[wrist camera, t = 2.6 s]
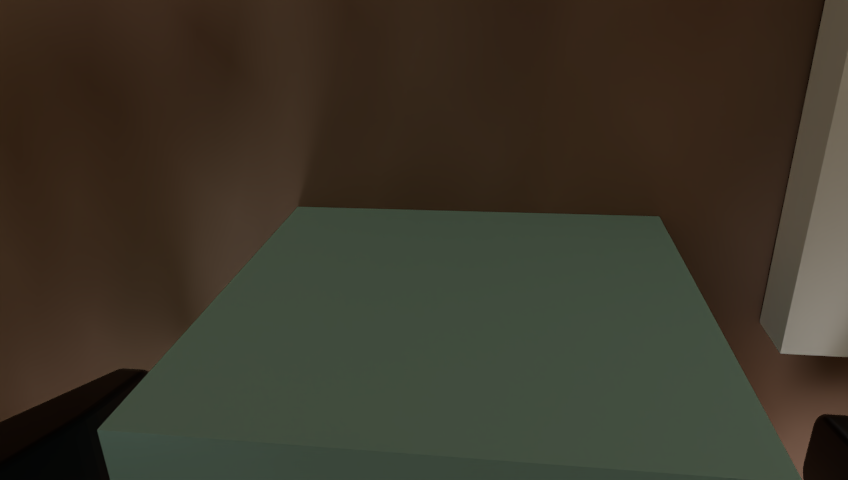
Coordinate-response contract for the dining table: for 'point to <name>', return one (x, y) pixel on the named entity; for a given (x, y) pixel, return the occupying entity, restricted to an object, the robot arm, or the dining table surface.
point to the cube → (451, 360)
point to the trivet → (816, 211)
